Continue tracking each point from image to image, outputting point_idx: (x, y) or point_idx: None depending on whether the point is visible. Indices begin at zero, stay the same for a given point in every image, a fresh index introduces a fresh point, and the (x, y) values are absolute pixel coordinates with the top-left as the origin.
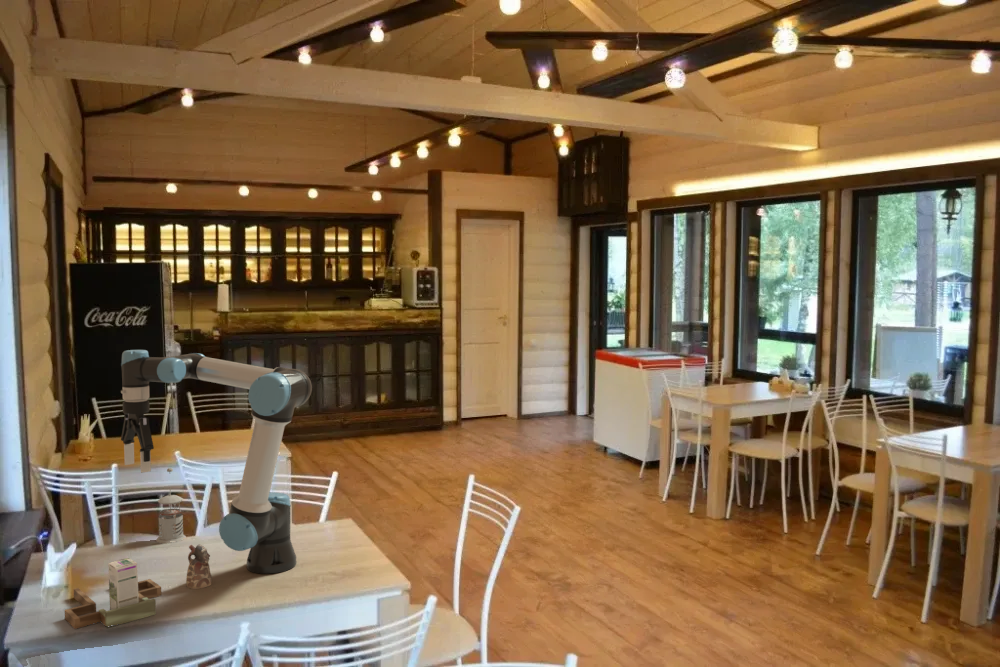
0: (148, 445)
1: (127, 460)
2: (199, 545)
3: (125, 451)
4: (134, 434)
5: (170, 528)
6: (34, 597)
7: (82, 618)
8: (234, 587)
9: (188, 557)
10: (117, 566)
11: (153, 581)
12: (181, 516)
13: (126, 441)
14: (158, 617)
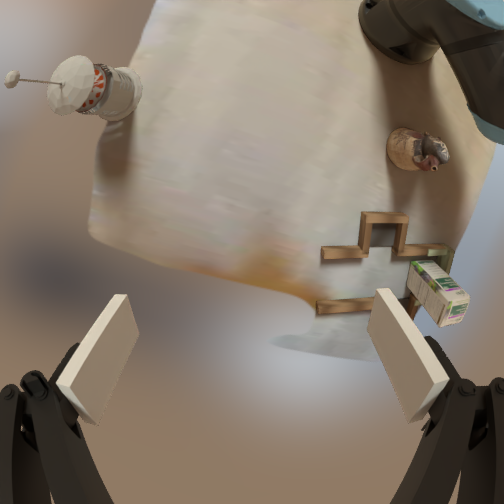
0: (465, 418)
1: (129, 341)
2: (446, 156)
3: (111, 389)
4: (78, 474)
5: (122, 94)
6: (274, 338)
7: (412, 320)
8: (443, 121)
9: (423, 170)
10: (458, 320)
11: (381, 216)
12: (108, 67)
13: (78, 432)
14: (451, 244)
